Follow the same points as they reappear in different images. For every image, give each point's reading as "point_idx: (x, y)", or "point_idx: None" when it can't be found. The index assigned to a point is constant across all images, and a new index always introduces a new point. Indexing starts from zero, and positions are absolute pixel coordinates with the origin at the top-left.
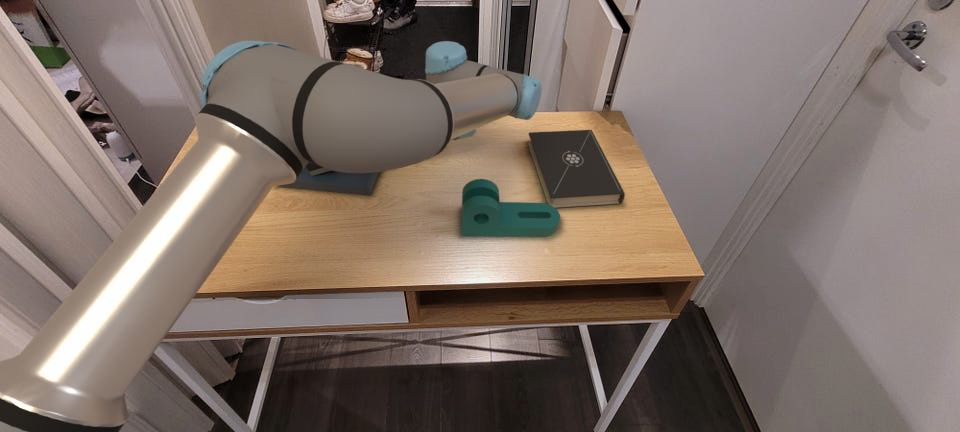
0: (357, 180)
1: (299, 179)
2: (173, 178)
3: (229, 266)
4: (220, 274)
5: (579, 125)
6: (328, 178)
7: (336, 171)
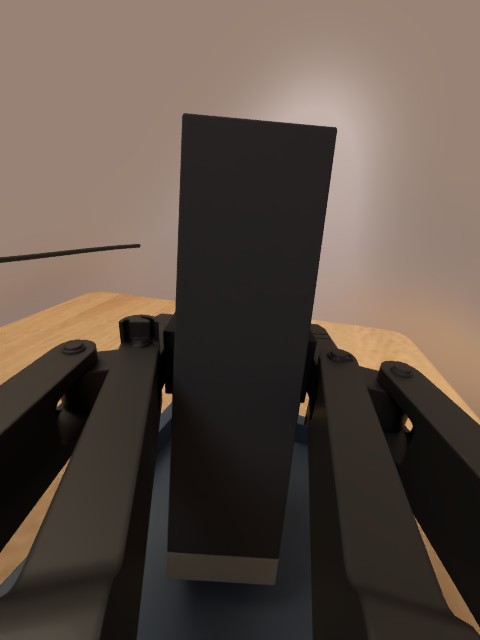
0: None
1: (159, 426)
2: None
3: (8, 345)
4: (3, 338)
5: None
6: (149, 543)
7: (188, 596)
